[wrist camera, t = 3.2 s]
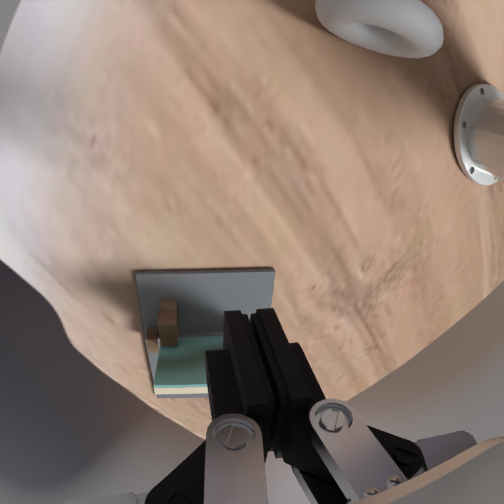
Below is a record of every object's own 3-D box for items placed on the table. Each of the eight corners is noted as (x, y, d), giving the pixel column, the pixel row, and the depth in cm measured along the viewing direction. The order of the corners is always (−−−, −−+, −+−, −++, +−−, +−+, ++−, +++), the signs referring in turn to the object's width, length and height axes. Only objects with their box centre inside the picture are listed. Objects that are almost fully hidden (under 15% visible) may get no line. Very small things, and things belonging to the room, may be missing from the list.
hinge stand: (261, 332, 34) (270, 360, 30) (150, 336, 31) (147, 365, 28) (265, 293, 31) (276, 319, 28) (144, 296, 29) (139, 324, 25)
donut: (293, 29, 21) (348, -4, 12) (301, -3, 19) (355, -46, 11) (392, 67, 23) (468, 65, 15) (397, 37, 22) (472, 26, 13)
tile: (252, 334, 31) (252, 341, 31) (161, 337, 29) (162, 344, 29) (275, 378, 22) (275, 387, 22) (153, 385, 20) (154, 394, 21)
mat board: (258, 389, 38) (259, 392, 38) (157, 394, 36) (157, 398, 35) (273, 268, 30) (275, 271, 30) (136, 271, 28) (135, 274, 27)
